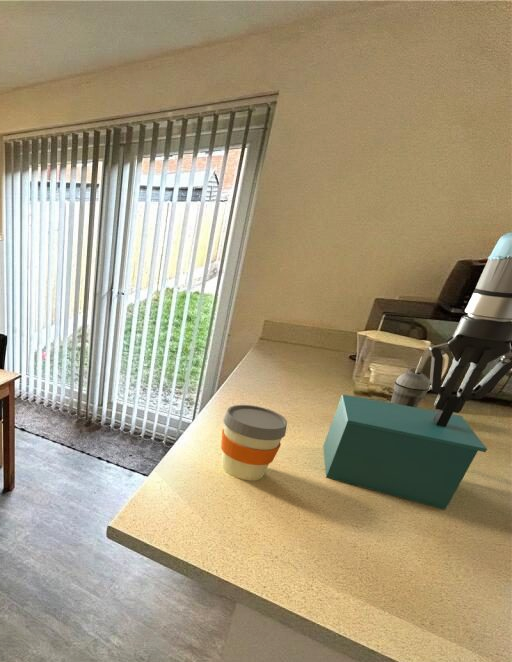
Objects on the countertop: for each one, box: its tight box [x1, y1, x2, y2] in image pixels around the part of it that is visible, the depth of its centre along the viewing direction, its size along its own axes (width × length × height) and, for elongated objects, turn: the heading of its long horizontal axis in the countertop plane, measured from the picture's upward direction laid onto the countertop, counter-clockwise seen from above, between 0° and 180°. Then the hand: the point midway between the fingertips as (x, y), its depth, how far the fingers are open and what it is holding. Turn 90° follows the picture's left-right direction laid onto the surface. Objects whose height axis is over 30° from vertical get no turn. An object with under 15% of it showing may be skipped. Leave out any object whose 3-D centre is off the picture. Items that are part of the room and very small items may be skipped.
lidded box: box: [322, 397, 479, 510], centre depth 92 cm, size 20×17×15 cm
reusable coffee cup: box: [220, 404, 288, 481], centre depth 94 cm, size 13×13×15 cm
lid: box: [340, 393, 488, 453], centre depth 88 cm, size 21×17×1 cm
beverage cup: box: [389, 356, 430, 408], centre depth 115 cm, size 7×7×20 cm
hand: (439, 423), depth 85 cm, fingers closed
